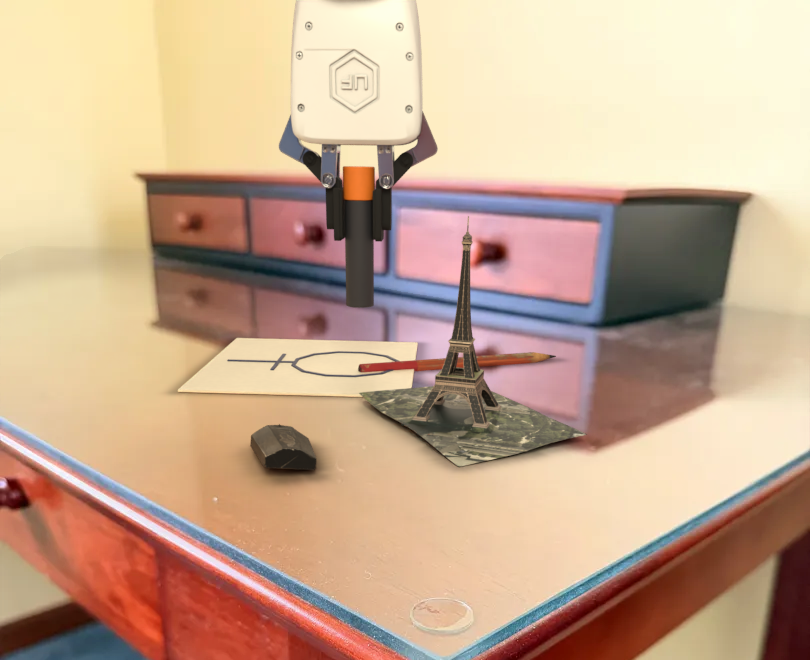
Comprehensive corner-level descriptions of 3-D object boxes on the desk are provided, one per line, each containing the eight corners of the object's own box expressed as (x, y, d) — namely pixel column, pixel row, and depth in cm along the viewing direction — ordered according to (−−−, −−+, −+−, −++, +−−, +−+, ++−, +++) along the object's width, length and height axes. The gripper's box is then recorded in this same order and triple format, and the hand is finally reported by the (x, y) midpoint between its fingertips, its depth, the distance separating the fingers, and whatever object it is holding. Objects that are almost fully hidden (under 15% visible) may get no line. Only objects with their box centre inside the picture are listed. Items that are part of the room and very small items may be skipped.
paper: (177, 392, 63) (177, 388, 63) (236, 339, 81) (236, 336, 81) (410, 398, 63) (410, 394, 63) (417, 344, 81) (417, 341, 81)
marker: (343, 307, 70) (340, 166, 65) (346, 302, 72) (344, 166, 68) (373, 308, 70) (373, 167, 65) (376, 303, 72) (375, 166, 68)
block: (263, 481, 46) (261, 451, 45) (248, 448, 51) (247, 420, 51) (326, 475, 47) (325, 445, 46) (305, 444, 52) (304, 416, 52)
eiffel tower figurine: (591, 444, 53) (619, 225, 48) (458, 466, 49) (471, 229, 43) (469, 387, 65) (480, 206, 59) (353, 401, 61) (352, 208, 55)
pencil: (360, 377, 69) (360, 365, 69) (356, 374, 70) (356, 362, 70) (558, 362, 75) (559, 352, 75) (552, 360, 76) (553, 349, 76)
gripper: (237, -34, 58) (254, 242, 66) (466, -32, 57) (456, 245, 65) (259, -14, 65) (272, 234, 73) (464, -12, 64) (455, 237, 72)
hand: (359, 237), depth 69 cm, fingers closed on marker, 2 cm apart
